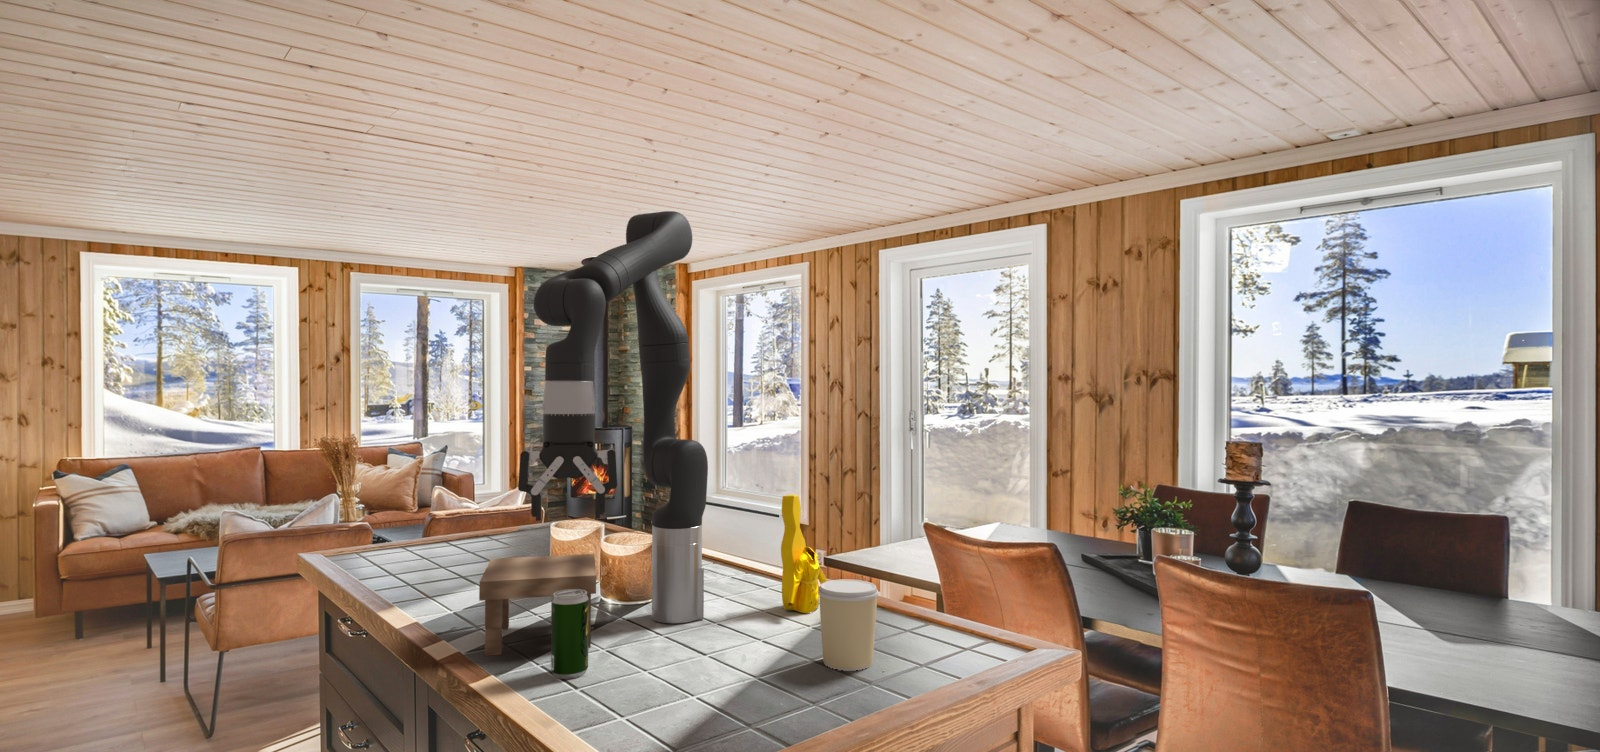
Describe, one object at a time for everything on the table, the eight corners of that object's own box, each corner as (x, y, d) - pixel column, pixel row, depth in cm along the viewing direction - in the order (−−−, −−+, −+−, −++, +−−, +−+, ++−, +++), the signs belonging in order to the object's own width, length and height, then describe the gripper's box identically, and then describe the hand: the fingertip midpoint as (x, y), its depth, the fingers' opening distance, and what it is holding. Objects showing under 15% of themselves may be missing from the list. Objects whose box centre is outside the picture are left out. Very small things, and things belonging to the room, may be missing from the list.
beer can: (557, 682, 119) (557, 599, 119) (546, 671, 123) (546, 591, 124) (593, 675, 122) (593, 594, 122) (581, 665, 126) (581, 587, 127)
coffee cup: (884, 656, 131) (884, 581, 131) (869, 676, 122) (869, 595, 122) (828, 650, 134) (828, 576, 134) (810, 669, 125) (810, 590, 125)
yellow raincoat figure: (800, 623, 149) (800, 502, 150) (761, 618, 153) (762, 500, 153) (836, 600, 165) (836, 491, 166) (801, 596, 169) (801, 489, 169)
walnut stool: (593, 618, 152) (594, 553, 152) (595, 648, 134) (596, 575, 135) (490, 625, 147) (491, 558, 147) (478, 657, 130) (479, 581, 130)
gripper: (616, 410, 129) (616, 513, 129) (521, 410, 125) (520, 516, 125) (618, 411, 122) (617, 521, 121) (517, 412, 118) (516, 524, 118)
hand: (568, 518), depth 123 cm, fingers open, 8 cm apart
